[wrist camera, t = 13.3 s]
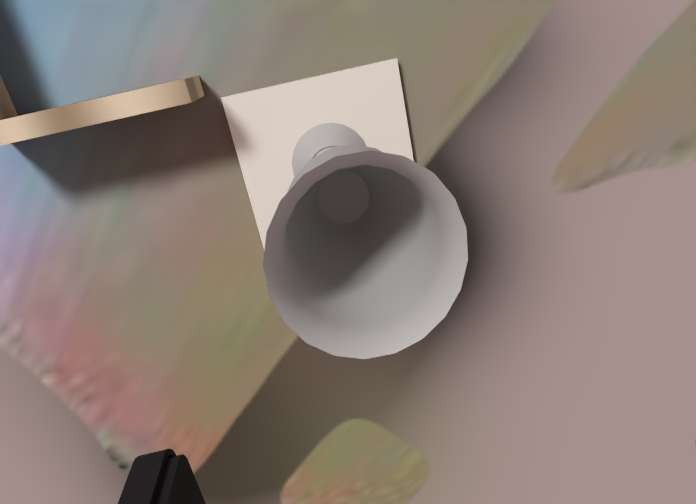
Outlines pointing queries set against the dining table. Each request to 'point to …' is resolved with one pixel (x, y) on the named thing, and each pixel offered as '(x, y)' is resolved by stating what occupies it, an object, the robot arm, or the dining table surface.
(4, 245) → the dining table surface
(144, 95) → the cubby
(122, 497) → the robot arm
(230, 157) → the dining table surface
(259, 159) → the mat
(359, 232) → the chalice
